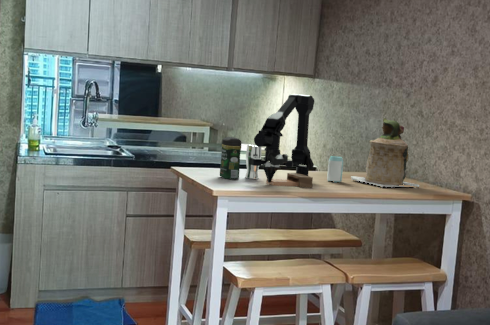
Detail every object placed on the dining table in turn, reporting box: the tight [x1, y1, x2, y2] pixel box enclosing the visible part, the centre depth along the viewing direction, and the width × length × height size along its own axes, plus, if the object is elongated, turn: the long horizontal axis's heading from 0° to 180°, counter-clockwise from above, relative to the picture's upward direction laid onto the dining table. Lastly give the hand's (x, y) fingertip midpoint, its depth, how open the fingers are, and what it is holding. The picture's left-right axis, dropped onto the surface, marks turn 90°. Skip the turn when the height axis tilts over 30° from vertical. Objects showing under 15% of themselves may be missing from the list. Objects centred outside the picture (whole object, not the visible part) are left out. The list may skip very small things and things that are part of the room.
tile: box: [265, 178, 299, 187], centre depth 294 cm, size 8×15×2 cm, turn 111°
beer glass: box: [244, 144, 262, 180], centre depth 307 cm, size 7×7×15 cm
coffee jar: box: [219, 136, 242, 180], centre depth 300 cm, size 10×8×19 cm
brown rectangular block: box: [286, 172, 314, 188], centre depth 296 cm, size 13×6×4 cm, turn 22°
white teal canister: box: [326, 155, 344, 183], centre depth 319 cm, size 7×7×12 cm
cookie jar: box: [350, 117, 420, 188], centre depth 322 cm, size 25×25×32 cm
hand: (269, 182), depth 290 cm, fingers closed
